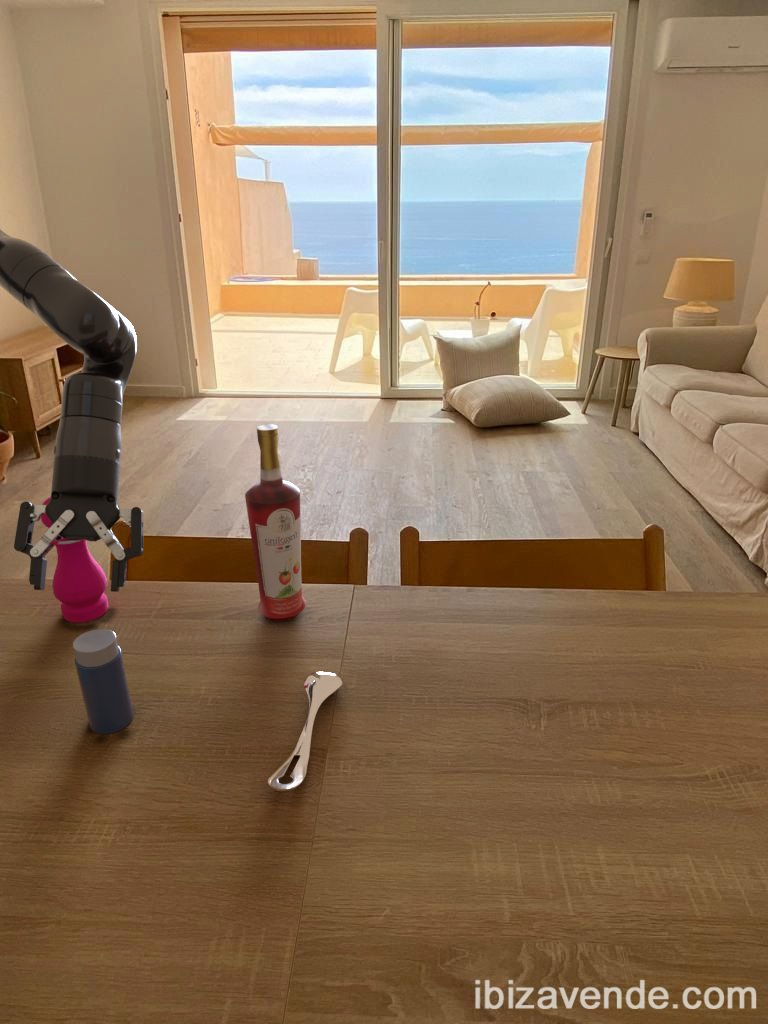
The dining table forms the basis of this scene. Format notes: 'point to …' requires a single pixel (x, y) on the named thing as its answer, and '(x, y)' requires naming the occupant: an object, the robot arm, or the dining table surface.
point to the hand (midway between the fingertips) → (77, 590)
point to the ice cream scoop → (306, 729)
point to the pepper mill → (78, 580)
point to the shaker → (103, 681)
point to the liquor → (275, 533)
